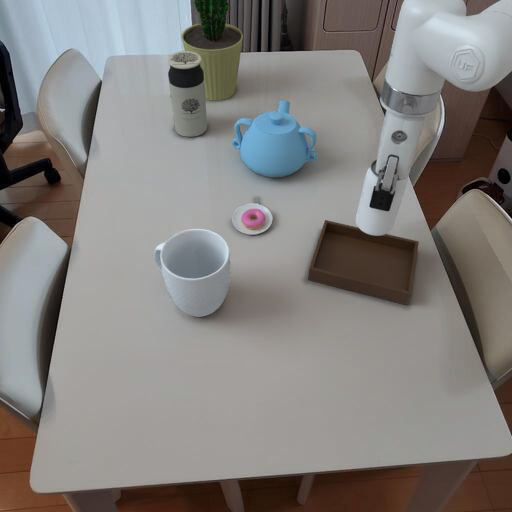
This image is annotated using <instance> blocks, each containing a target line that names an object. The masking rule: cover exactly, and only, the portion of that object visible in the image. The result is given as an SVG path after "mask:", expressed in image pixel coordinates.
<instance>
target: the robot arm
mask: <svg viewBox="0 0 512 512" xmlns="http://www.w3.org/2000/svg"><path fill="white" fill-rule="evenodd" d="M466 5H467V4H466V3H465V1H464V0H403V2H402V4H401V8H400V10H399V15H398V19H397V23H396V27H395V31H394V37H393V40H392V45H391V49H390V53H389V58H388V62H387V67H386V71H385V76H384V80H383V84H382V88H381V93H380V97H379V102H380V104H381V106H382V108H383V109H385V115H384V119H383V124H382V128H381V133H380V138H379V144H378V149H377V155H376V159H377V163H376V170H375V171H376V173H377V174H379V176H378V180H377V184H376V186H374V189H373V193H372V197H371V201H370V205H369V207H370V208H374V209H378V210H383V211H390V208H391V204H392V201H393V198H394V194H395V186H396V182H397V179H398V176H399V179H403V180H406V179H407V178H408V179H409V176H410V172H411V169H412V165H413V163H414V159H415V155H416V152H417V149H418V146H419V142H420V138H421V136H422V131H423V128H424V124H425V120H426V118H427V117H429V116H431V115H432V114H433V113H435V111H436V109H437V105H438V102H439V100H440V96H441V94H442V91H443V87H444V84H445V81H447V82H449V83H450V84H452V85H453V86H455V87H457V88H459V89H461V90H463V91H467V92H471V93H473V92H474V93H477V92H484V91H486V90H489V89H492V88H493V87H494V86H497V84H499V83H500V82H501V81H502V80H503V79H505V78H506V77H507V76H508V75H509V74H510V73H512V0H498V1H496V2H495V3H493V4H492V5H489V6H488V7H487V8H485V9H484V10H483V11H481V12H479V13H478V14H473V15H467V6H466ZM384 167H387V168H386V170H383V168H384ZM395 169H397V171H396V172H395ZM382 176H384V180H383V183H382V182H381V179H382ZM393 178H394V179H393ZM392 180H393V182H392Z"/></svg>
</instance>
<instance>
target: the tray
mask: <svg viewBox="0 0 512 512" xmlns="http://www.w3.org/2000/svg"><path fill="white" fill-rule="evenodd" d="M419 242H420V241H418V240H415V239H409V238H405V237H402V236H396V235H394V234H393V235H392V234H389V233H387V234H385V235H381V236H372V235H368V234H366V233H364V232H363V231H361V230H360V229H359V227H358V226H353V225H349V224H344V223H340V222H336V221H332V220H327V219H325V220H324V222H323V225H322V228H321V231H320V235H319V237H318V241H317V244H316V247H315V250H314V253H313V256H312V259H311V262H310V265H309V268H308V274H307V281H310V282H314V283H317V284H322V285H325V286H328V287H334V288H336V289H341V290H345V291H349V292H351V293H352V292H353V293H356V294H360V295H365V296H369V297H372V298H376V299H380V300H385V301H388V302H391V303H392V302H393V303H396V304H400V305H404V306H408V304H409V301H410V299H411V297H412V294H413V287H414V279H415V272H416V265H417V257H418V251H419V250H418V249H419V245H420V244H419Z"/></svg>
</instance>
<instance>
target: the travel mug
mask: <svg viewBox="0 0 512 512" xmlns="http://www.w3.org/2000/svg"><path fill="white" fill-rule="evenodd" d="M201 60H202V59H201V56H200V55H199V54H197V53H195V52H191V51H185V50H180V51H176V52H173V53H172V54H170V55H169V56H168V58H167V64H168V65H169V69H168V72H167V76H168V77H167V78H168V84H169V92H170V102H171V109H172V116H173V124H174V130H175V132H176V133H177V134H178V135H180V136H183V137H189V138H191V137H197V136H200V135H203V134H204V133H205V132H206V131H207V129H208V117H207V103H206V102H207V100H206V99H205V86H204V72H203V69H202V68H201V66H200V63H201Z"/></svg>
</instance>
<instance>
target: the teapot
mask: <svg viewBox="0 0 512 512" xmlns="http://www.w3.org/2000/svg"><path fill="white" fill-rule="evenodd" d="M278 102H279V103H278V106H277V107H278V108H277V110H271V111H267V112H266V111H265V112H263V113H261V114H259V115H257V116H256V117H255V118H254V119H251V118H249V117H242V118H238V120H236V122H235V123H234V132H235V136H236V137H234V138H233V139H232V141H231V145H232V148H234V149H236V150H239V152H240V153H239V154H240V158H241V160H242V163H244V164H245V166H246V167H247V168H249V169H250V170H251V171H253V172H254V173H256V174H257V175H260V176H263V177H267V178H283V177H287V176H290V175H292V174H294V173H296V172H297V171H299V170H300V169H301V168H303V166H304V165H305V164H306V162H310V163H313V162H315V161H317V159H318V156H319V155H318V152H317V151H315V150H313V149H314V147H315V145H316V142H317V133H316V131H315V130H314V129H312V128H310V127H308V126H301V125H300V124H299V122H298V120H297V119H296V118H295V117H294V116H293V115H291V114H290V105H291V102H290V101H287V100H279V101H278ZM241 125H247V126H248V127H247V129H246V130H245V132H244V134H242V130H241ZM306 135H308V136H310V138H311V141H310V144H308V139H307V136H306Z"/></svg>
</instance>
